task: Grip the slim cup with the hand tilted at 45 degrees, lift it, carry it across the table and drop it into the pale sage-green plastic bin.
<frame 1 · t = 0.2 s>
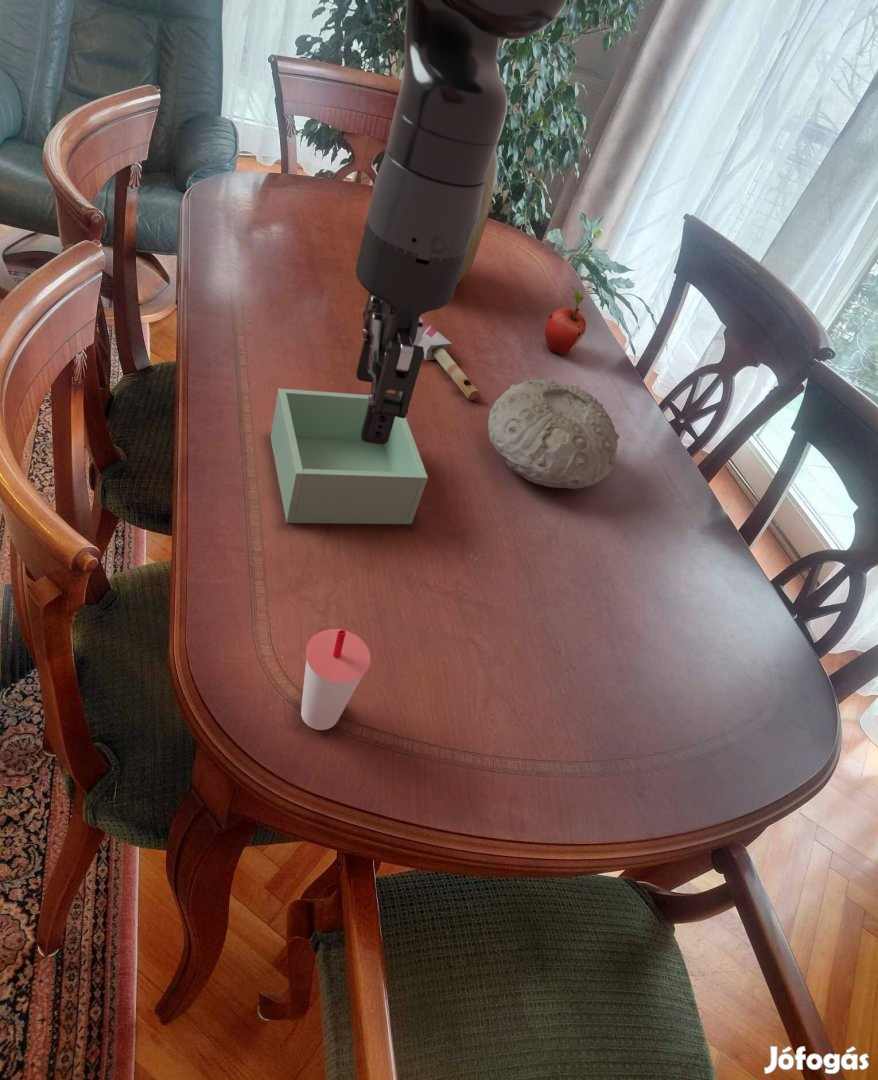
hand: (370, 408, 66), 22 cm above the table, tool pointing down, fingers open, 8 cm apart
vase: (417, 274, 136), on the table
decorative shell: (539, 462, 107), on the table
apple: (554, 350, 131), on the table
bin: (339, 479, 93), on the table
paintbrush: (436, 361, 118), on the table
cup: (319, 714, 70), on the table
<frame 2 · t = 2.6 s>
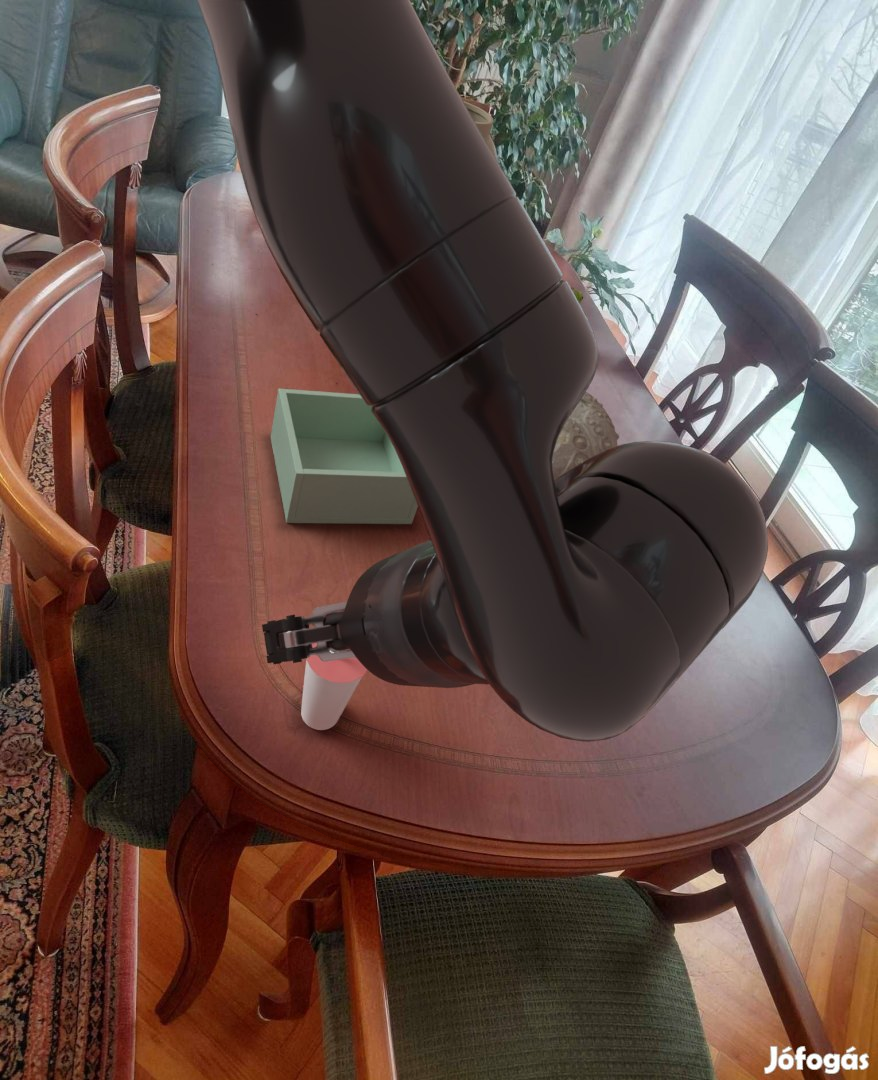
hand: (352, 629, 56), 17 cm above the table, tool tilted 35°, fingers open, 8 cm apart
nothing on the table moved.
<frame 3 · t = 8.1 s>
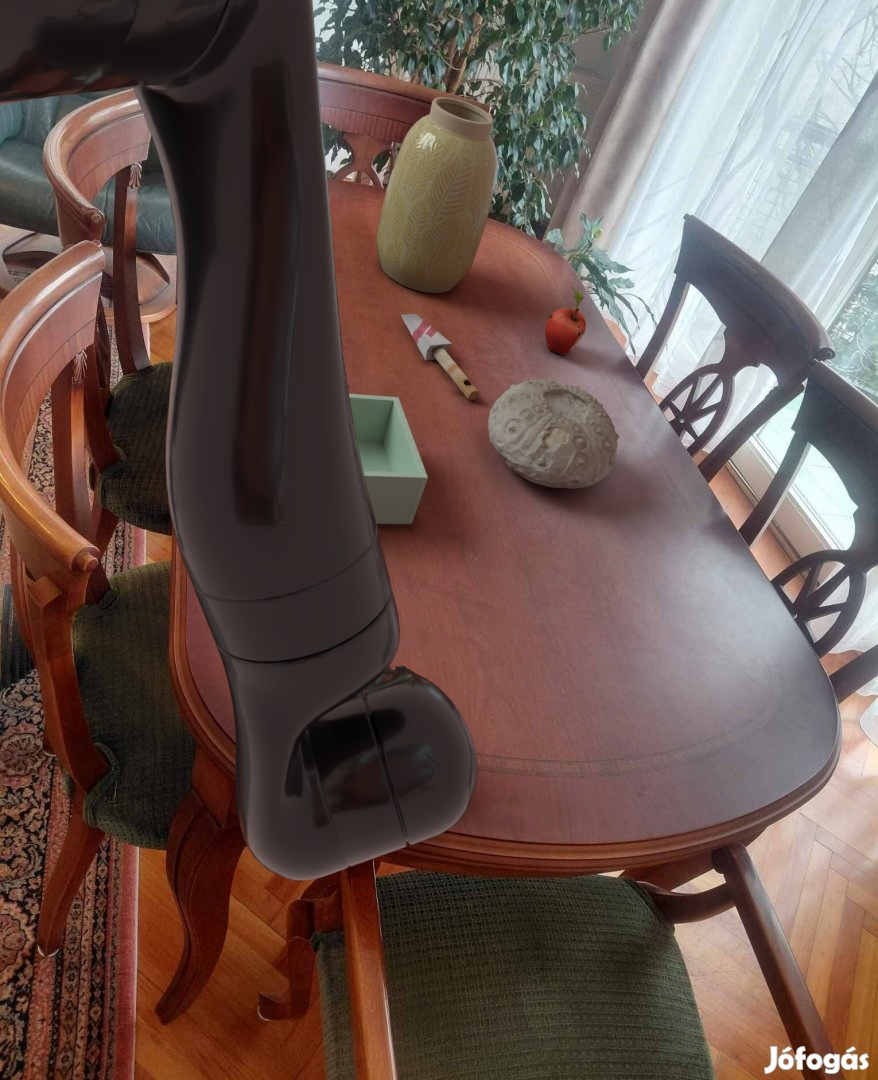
hand: (334, 660, 67), 6 cm above the table, tool tilted 45°, fingers closed on cup, 5 cm apart
cup: (319, 714, 70), on the table, touching gripper
everything else where it was.
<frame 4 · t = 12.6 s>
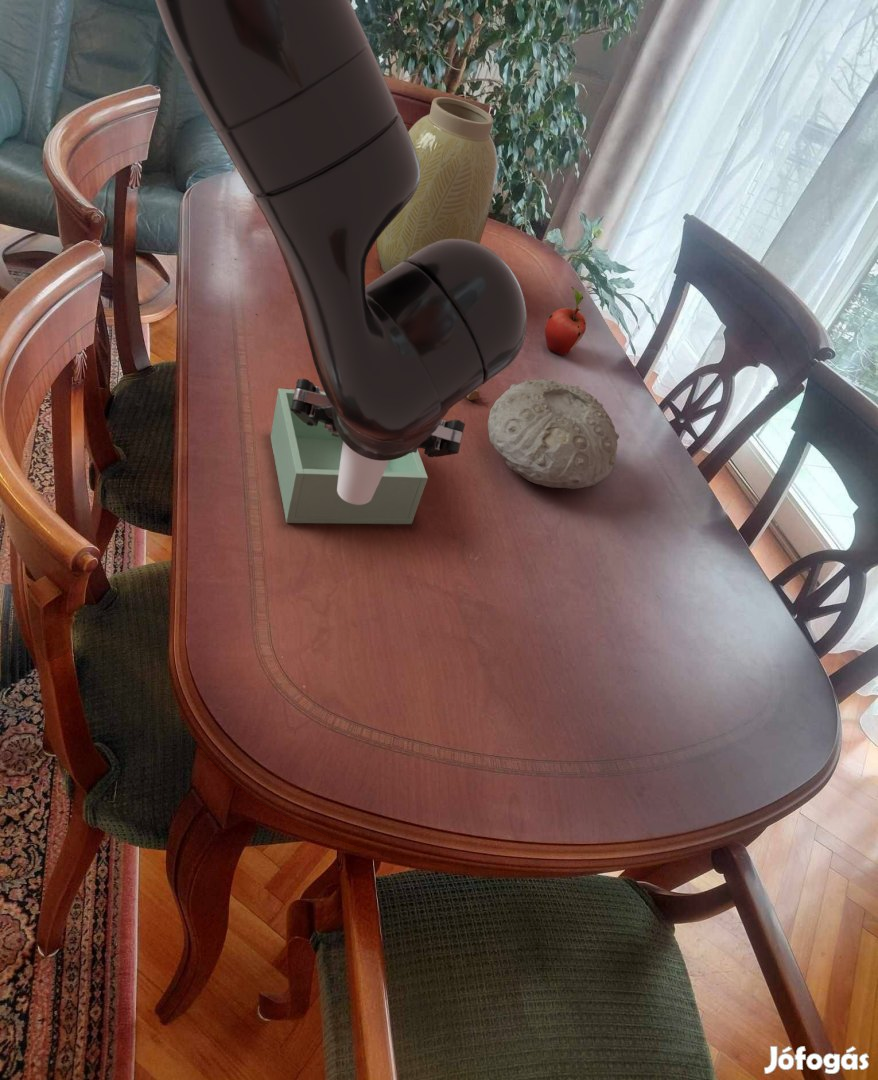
hand: (370, 433, 71), 18 cm above the table, tool tilted 45°, fingers closed on cup, 5 cm apart
cup: (354, 494, 74), point 12 cm above the table, touching gripper
everything else where it was.
when the fingers open (11 cm above the table, at t = 17.1 s): cup drops 4 cm, resting on bin.
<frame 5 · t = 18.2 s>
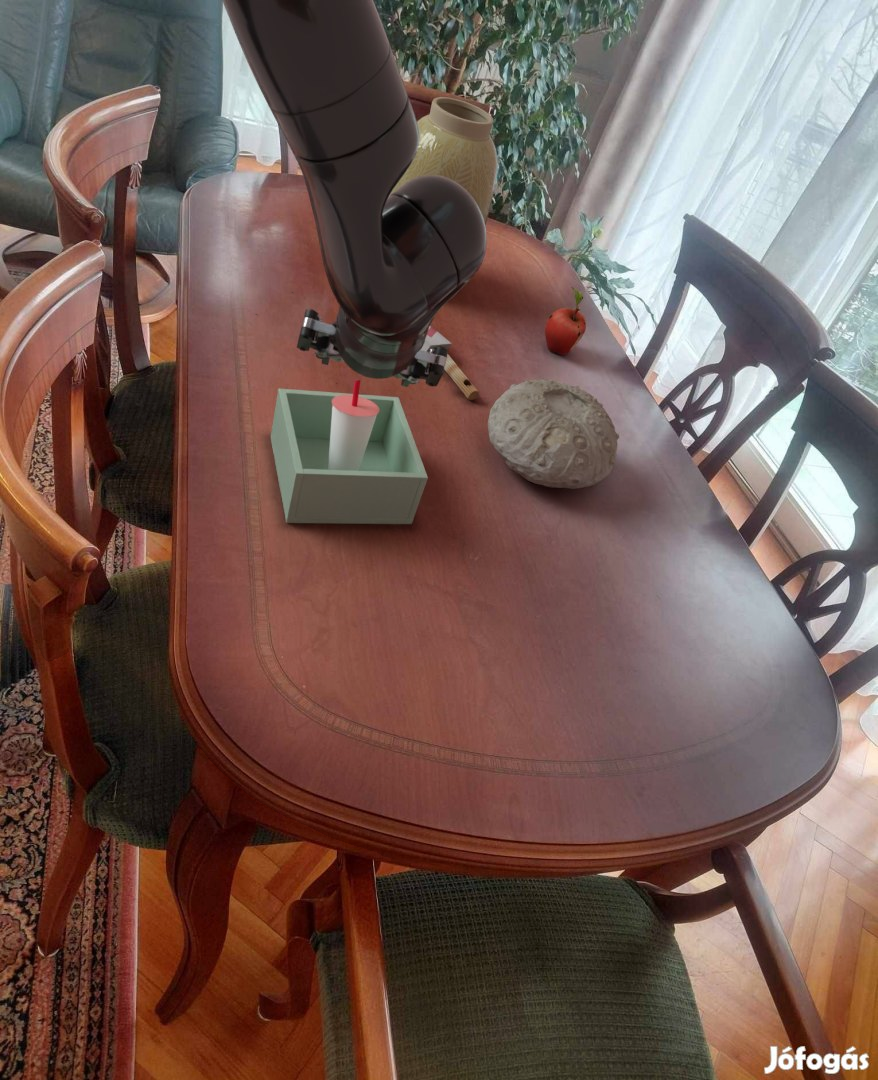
hand: (366, 366, 82), 16 cm above the table, tool tilted 45°, fingers open, 8 cm apart
cup: (342, 475, 92), point 1 cm above the table, touching bin
everything else where it was.
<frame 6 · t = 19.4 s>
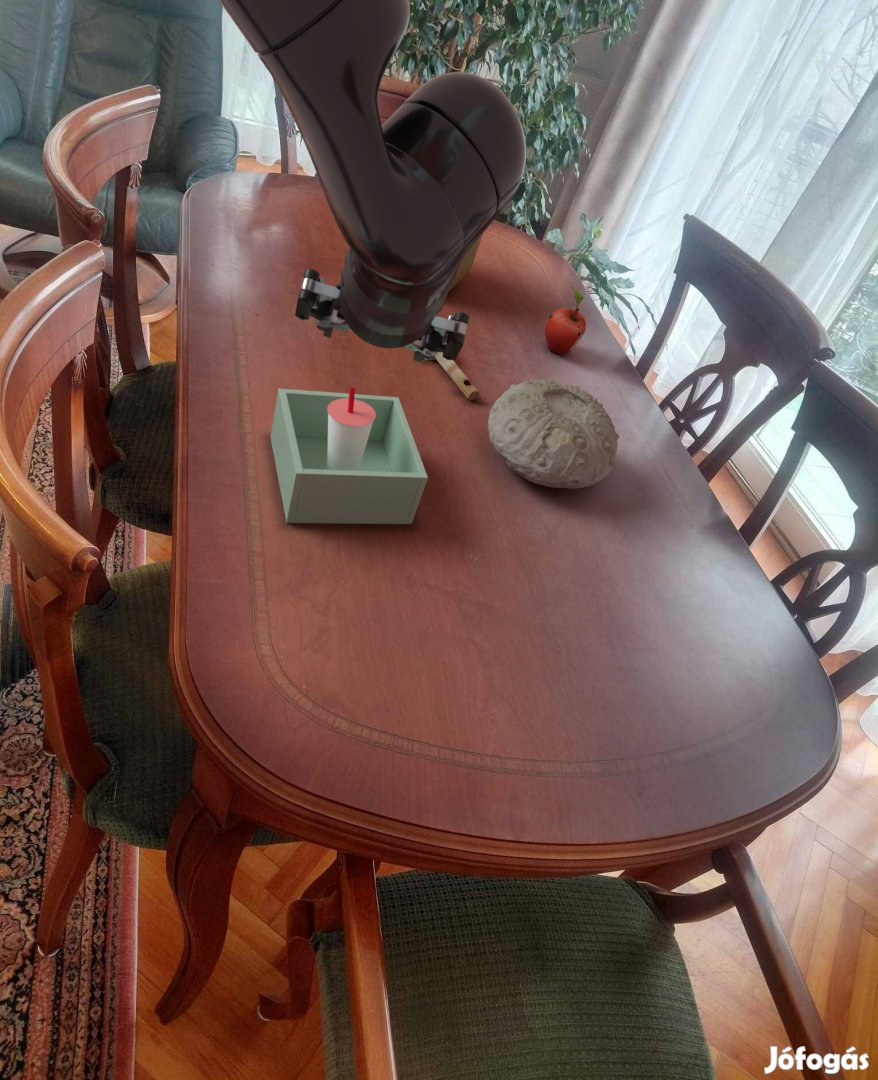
hand: (374, 338, 73), 23 cm above the table, tool tilted 45°, fingers open, 8 cm apart
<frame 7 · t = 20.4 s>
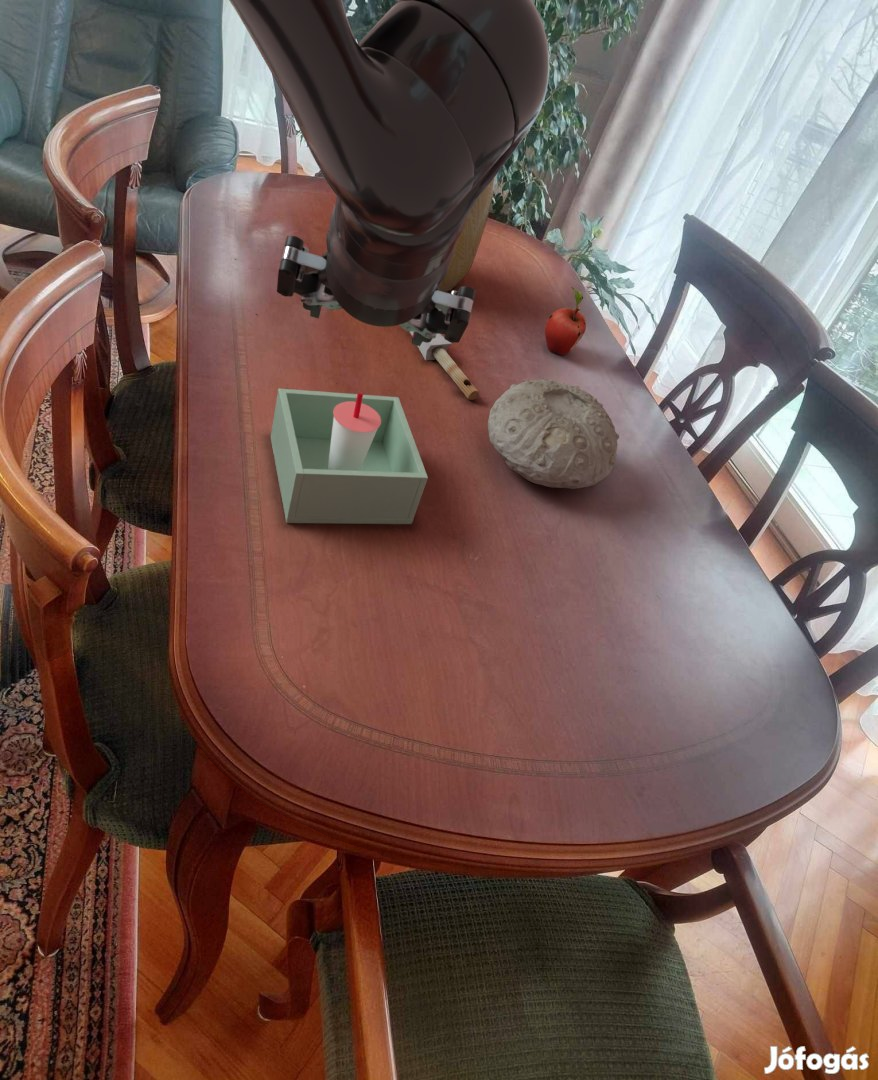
hand: (368, 319, 65), 28 cm above the table, tool tilted 45°, fingers open, 8 cm apart
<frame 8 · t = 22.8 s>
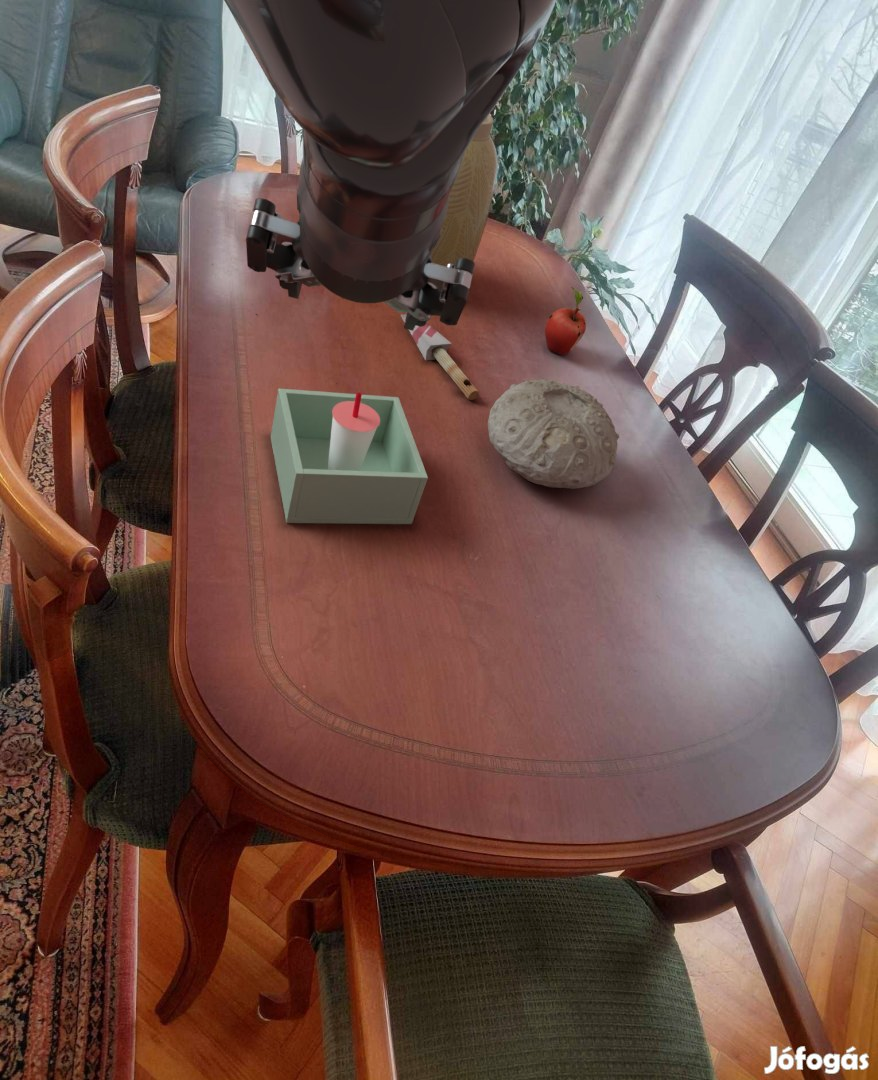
hand: (354, 300, 57), 33 cm above the table, tool tilted 45°, fingers open, 8 cm apart
at the end: cup inside the target area in the bin (0.2 cm from its centre), point 0.6 cm above the bin's base; the gripper is holding nothing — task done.
